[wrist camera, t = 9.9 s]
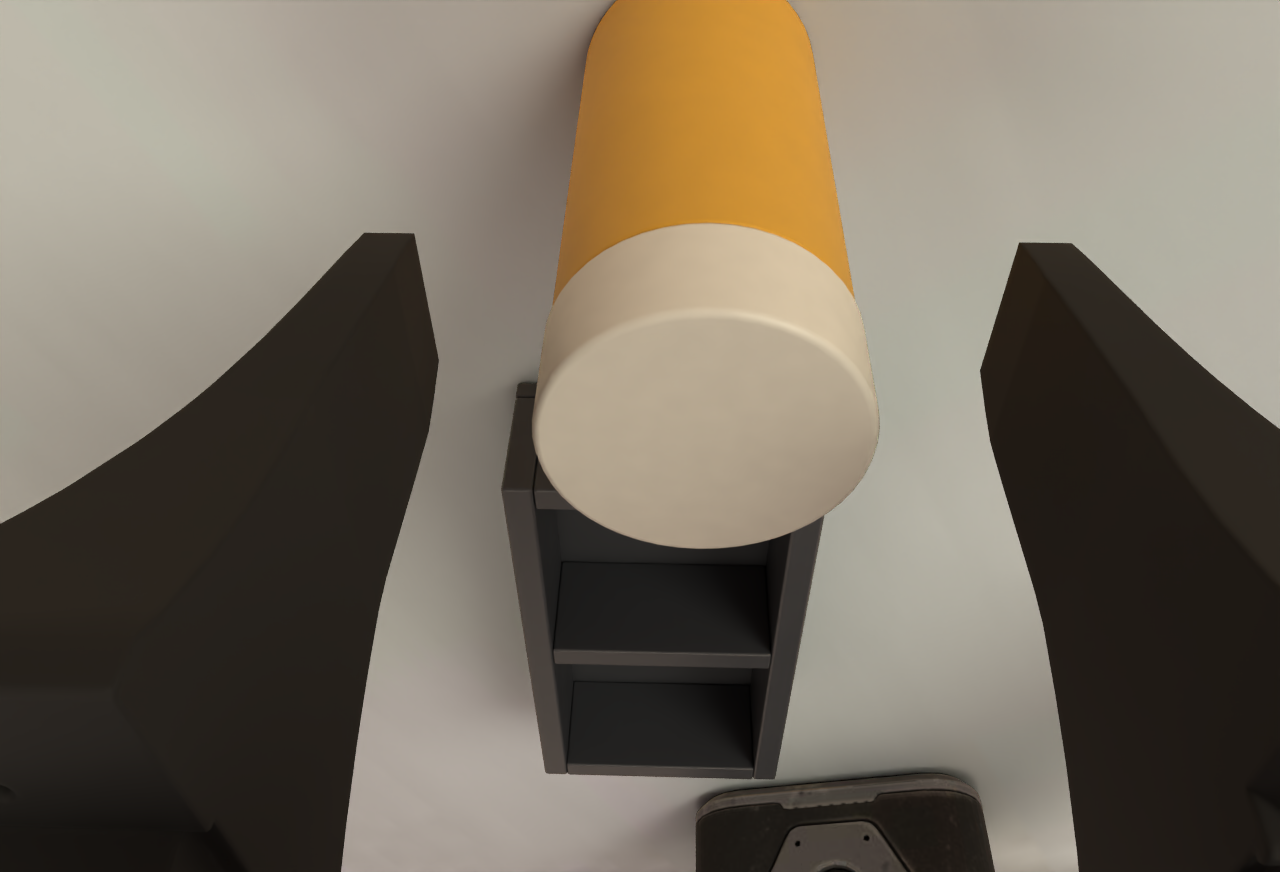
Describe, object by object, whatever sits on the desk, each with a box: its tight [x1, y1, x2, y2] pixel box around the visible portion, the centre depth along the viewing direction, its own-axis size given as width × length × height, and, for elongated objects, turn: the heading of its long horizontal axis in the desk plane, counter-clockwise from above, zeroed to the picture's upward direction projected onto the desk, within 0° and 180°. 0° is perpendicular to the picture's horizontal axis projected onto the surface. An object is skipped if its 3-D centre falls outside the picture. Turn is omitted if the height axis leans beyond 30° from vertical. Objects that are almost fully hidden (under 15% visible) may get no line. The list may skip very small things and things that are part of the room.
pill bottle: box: [532, 0, 880, 549], centre depth 14 cm, size 4×4×8 cm
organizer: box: [501, 383, 824, 779], centre depth 25 cm, size 6×12×3 cm, turn 0°
